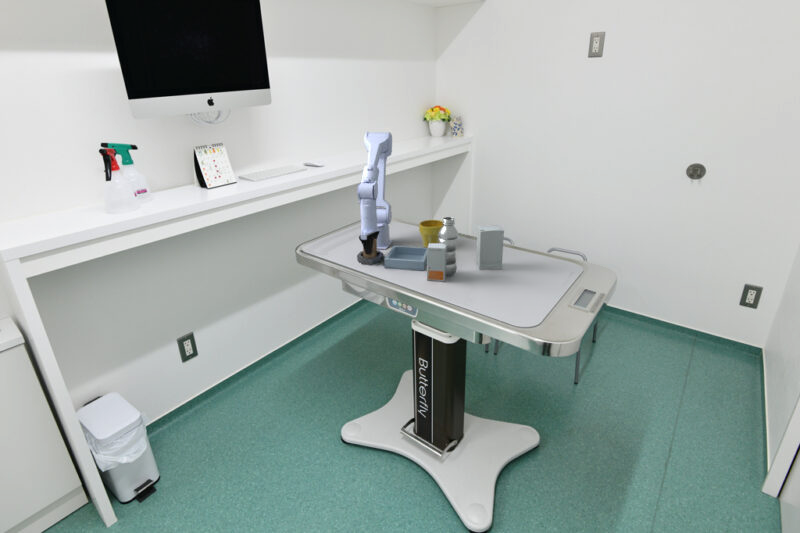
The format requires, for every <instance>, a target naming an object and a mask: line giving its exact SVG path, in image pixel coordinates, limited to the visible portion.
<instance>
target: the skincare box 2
mask: <svg viewBox="0 0 800 533" xmlns="http://www.w3.org/2000/svg"><path fill="white" fill-rule="evenodd" d="M504 233H505V230H504V228H503V227H502V226H501V225H500V224H492V225H491V224H490V225H477V233H476V234H477V235H476V236H477V237H476V265H477V267H478V268H477V269H478V270H479V271H485V270H486V271H487V270H488V271H489V270H502V269H503V255H504V254H503V251H504Z"/></svg>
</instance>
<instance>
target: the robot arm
mask: <svg viewBox="0 0 800 533" xmlns="http://www.w3.org/2000/svg"><path fill="white" fill-rule="evenodd" d="M363 140H364V147H365V149H366V151H367V165H365V166H364V167H363V170H362V175H361V176H362V177H361V180H360V181H361V182H360V183H358V186H357V188H356V190H357V199H358V204H359V205H360V206H359V208H360V224H361V226H360V227H361V228H360V235H359V236H358V239H359V241H360V243H361V245H362V248H363V247H364V251H365V254H369V255H371V253H372V246H373V241H374V239H377V250H378V249H379V250H387V249H388V248H389V246H390V245H391V244H392V242H393V240H391V239H390V238H391V237H390V226H389V225H390V224H391V223H392V216H393V215H392V213H393V212H392V206H391V204H390V202H388V201H387V200H386V199H385V197H386V196H385V194H386V171H387V169H386V168H387V159H388V157H390V156H392V152H393V135H392V133H391V132H390V131H388V132H374V131H373V132H372V131H371V132H369V131H366V133H365V134H364V138H363Z"/></svg>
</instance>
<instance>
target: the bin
mask: <svg viewBox="0 0 800 533" xmlns="http://www.w3.org/2000/svg"><path fill="white" fill-rule="evenodd" d="M427 252H428V248H425V247H424V246H423V247H422V246H421V247H420V246H407V245H405V246H403V245H393V246H392V248H391V249H390V251H389V252H388V253H387V255H386V256H385V257H384V269H390V270H391V269H393V270H404V271H405V270H406V271H418V272H424V270H425V268H427Z"/></svg>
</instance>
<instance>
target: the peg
mask: <svg viewBox="0 0 800 533" xmlns="http://www.w3.org/2000/svg"><path fill="white" fill-rule="evenodd" d="M377 250H378V249H377V239H374V241H373V246H372V253H371V255H369V254H365V251H364V247H363V246H362V251H363V254H364V257H365V258H373V257H377Z"/></svg>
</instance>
